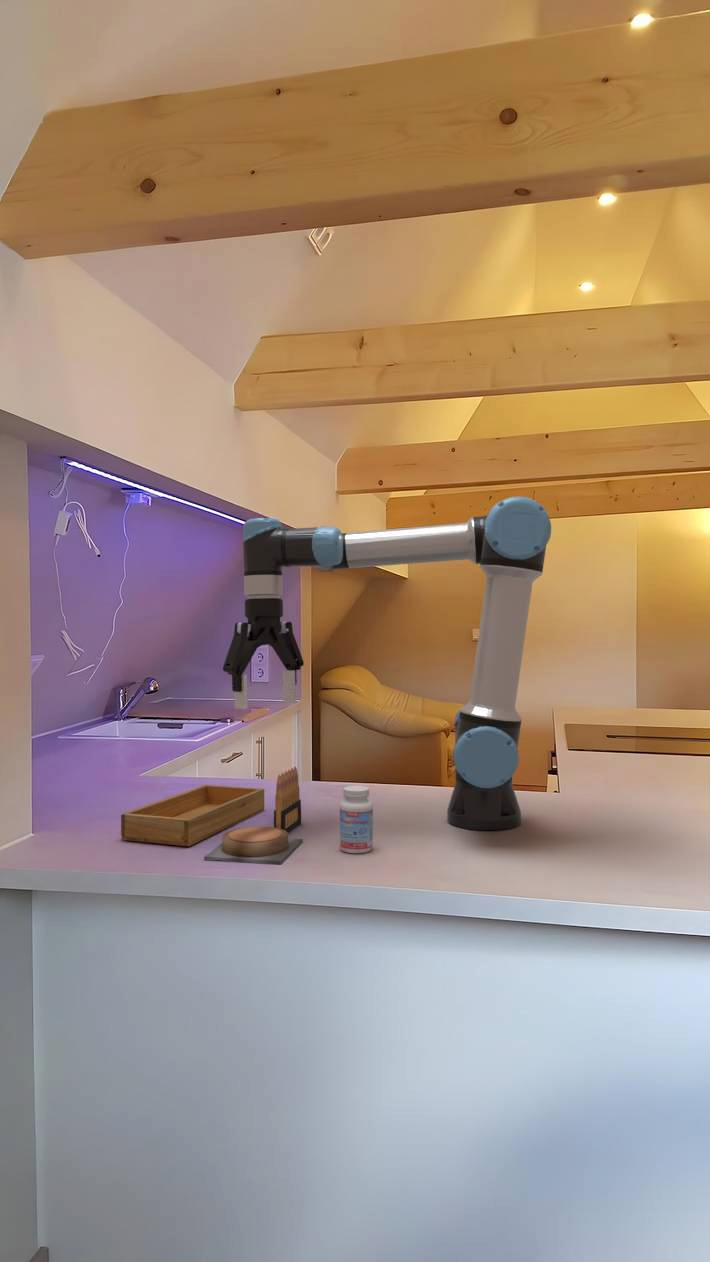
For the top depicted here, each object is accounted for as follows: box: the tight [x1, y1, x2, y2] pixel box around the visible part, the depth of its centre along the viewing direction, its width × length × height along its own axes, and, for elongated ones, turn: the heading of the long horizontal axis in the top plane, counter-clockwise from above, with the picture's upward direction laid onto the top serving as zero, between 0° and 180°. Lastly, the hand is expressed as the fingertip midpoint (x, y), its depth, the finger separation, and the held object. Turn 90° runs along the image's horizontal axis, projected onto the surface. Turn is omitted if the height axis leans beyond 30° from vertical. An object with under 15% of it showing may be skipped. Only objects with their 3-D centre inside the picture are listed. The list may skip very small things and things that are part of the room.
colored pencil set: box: [273, 766, 302, 834], centre depth 156 cm, size 11×2×12 cm, turn 164°
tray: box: [120, 784, 265, 847], centre depth 160 cm, size 31×15×6 cm, turn 160°
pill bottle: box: [339, 785, 374, 854], centre depth 142 cm, size 6×6×11 cm
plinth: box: [203, 826, 304, 865], centre depth 142 cm, size 14×14×3 cm
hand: (266, 705), depth 153 cm, fingers open, 13 cm apart
